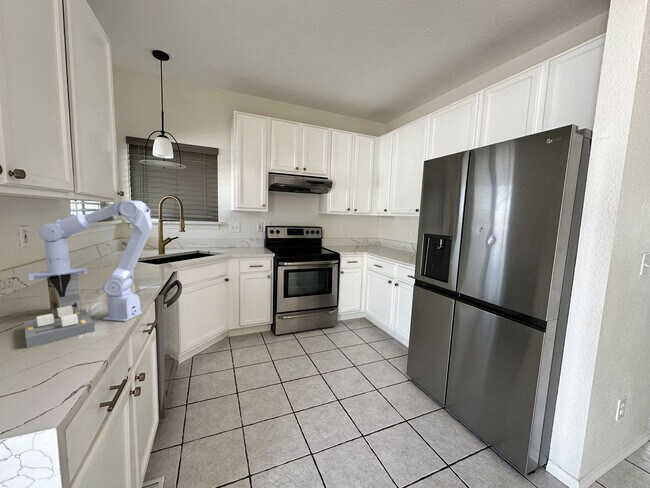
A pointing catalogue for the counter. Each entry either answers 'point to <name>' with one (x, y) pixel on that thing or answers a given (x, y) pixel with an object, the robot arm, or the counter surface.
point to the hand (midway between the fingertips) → (62, 296)
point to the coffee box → (70, 295)
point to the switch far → (64, 311)
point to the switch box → (57, 329)
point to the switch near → (69, 320)
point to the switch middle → (45, 319)
